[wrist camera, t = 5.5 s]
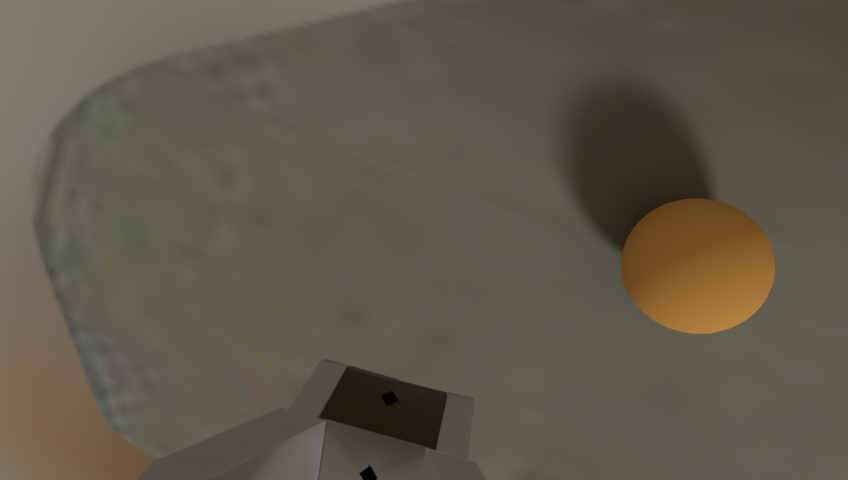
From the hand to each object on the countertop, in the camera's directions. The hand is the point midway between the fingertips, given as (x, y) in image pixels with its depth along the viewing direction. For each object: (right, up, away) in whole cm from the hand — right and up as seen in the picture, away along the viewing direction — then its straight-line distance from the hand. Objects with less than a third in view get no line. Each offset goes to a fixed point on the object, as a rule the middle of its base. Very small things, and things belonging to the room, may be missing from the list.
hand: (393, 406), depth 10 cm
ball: (+12, +2, +11) cm, 16 cm away
